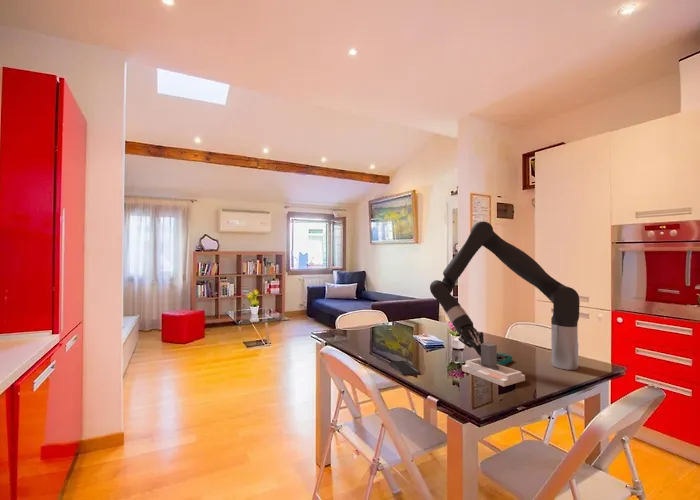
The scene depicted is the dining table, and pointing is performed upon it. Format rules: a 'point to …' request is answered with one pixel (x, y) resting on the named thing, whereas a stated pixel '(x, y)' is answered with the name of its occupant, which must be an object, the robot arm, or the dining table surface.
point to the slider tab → (489, 356)
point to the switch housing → (493, 373)
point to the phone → (404, 368)
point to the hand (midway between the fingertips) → (483, 355)
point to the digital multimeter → (503, 359)
